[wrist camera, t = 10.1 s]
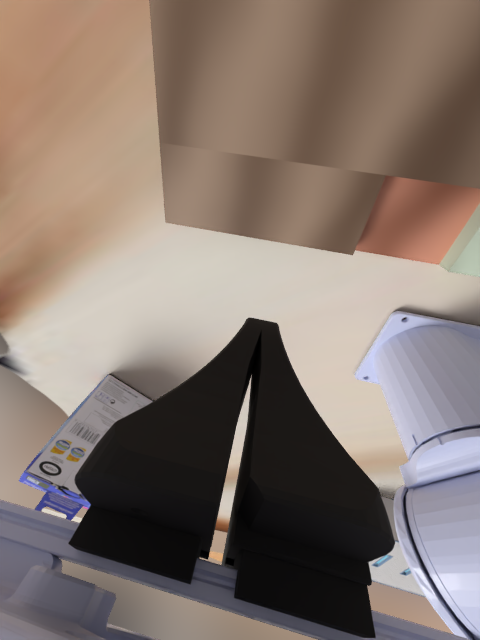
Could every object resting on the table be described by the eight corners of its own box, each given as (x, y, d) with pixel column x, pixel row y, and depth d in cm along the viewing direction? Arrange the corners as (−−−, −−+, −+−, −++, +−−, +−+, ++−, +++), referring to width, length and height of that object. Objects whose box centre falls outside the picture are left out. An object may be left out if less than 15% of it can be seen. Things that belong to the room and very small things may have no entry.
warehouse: (545, 540, 36) (597, 619, 30) (473, 556, 44) (501, 620, 38) (352, 484, 37) (364, 549, 31) (318, 511, 46) (322, 566, 39)
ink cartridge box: (95, 387, 34) (-9, 508, 22) (107, 371, 31) (-5, 501, 19) (152, 421, 36) (85, 545, 25) (168, 409, 33) (102, 544, 22)
